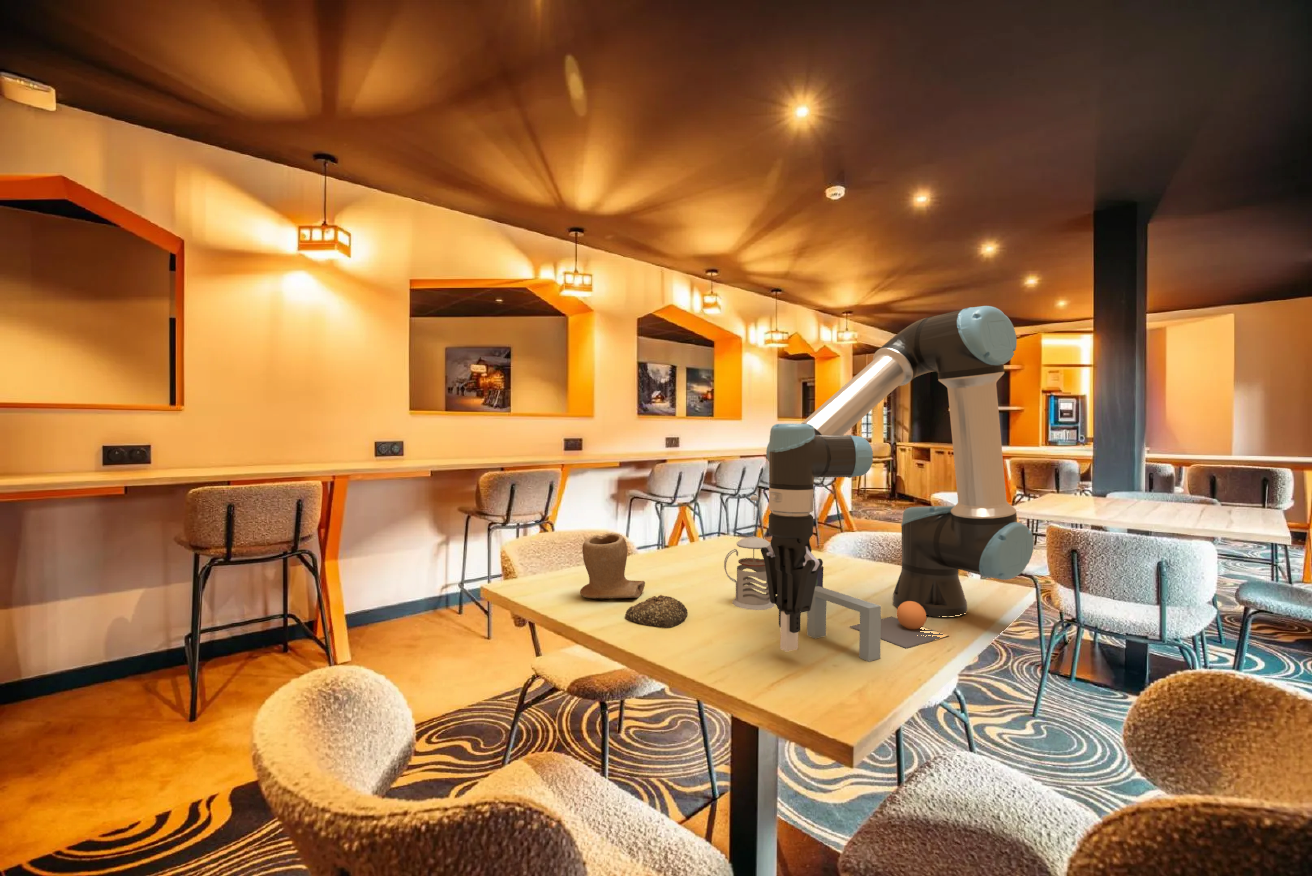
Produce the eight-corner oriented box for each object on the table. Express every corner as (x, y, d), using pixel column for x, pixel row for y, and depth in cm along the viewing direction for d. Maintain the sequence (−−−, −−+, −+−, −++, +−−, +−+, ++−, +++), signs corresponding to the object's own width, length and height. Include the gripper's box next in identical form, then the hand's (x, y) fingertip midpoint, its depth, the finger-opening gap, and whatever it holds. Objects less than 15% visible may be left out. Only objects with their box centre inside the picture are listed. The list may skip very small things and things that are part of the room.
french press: (778, 610, 126) (780, 497, 126) (726, 609, 126) (727, 497, 126) (770, 597, 136) (771, 493, 135) (721, 596, 136) (723, 492, 135)
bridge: (818, 632, 112) (818, 586, 112) (880, 658, 99) (881, 605, 99) (807, 635, 110) (807, 588, 110) (868, 661, 98) (869, 608, 97)
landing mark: (891, 617, 121) (891, 616, 121) (949, 636, 110) (949, 635, 110) (849, 627, 115) (849, 626, 115) (906, 648, 104) (906, 647, 104)
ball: (906, 624, 118) (909, 597, 118) (931, 632, 113) (933, 604, 114) (889, 625, 115) (891, 598, 116) (913, 633, 110) (916, 605, 111)
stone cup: (575, 604, 129) (576, 538, 128) (584, 590, 140) (584, 529, 140) (642, 606, 128) (642, 539, 128) (645, 591, 140) (645, 530, 140)
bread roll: (667, 633, 112) (667, 608, 112) (617, 621, 119) (617, 597, 119) (699, 616, 122) (699, 593, 122) (651, 606, 129) (652, 584, 129)
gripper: (749, 509, 102) (748, 640, 102) (802, 519, 90) (800, 666, 91) (781, 507, 105) (779, 633, 106) (835, 516, 94) (833, 657, 94)
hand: (789, 648), depth 98 cm, fingers closed
